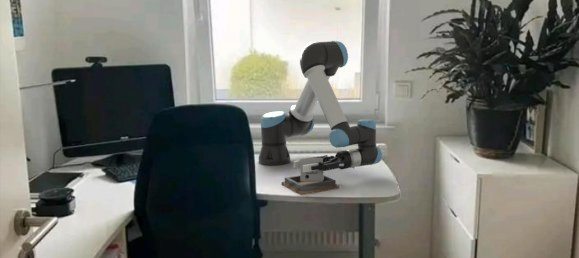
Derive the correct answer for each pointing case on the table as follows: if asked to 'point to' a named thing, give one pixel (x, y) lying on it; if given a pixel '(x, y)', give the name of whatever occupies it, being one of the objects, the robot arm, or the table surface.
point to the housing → (309, 185)
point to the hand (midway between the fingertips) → (298, 166)
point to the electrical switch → (312, 175)
